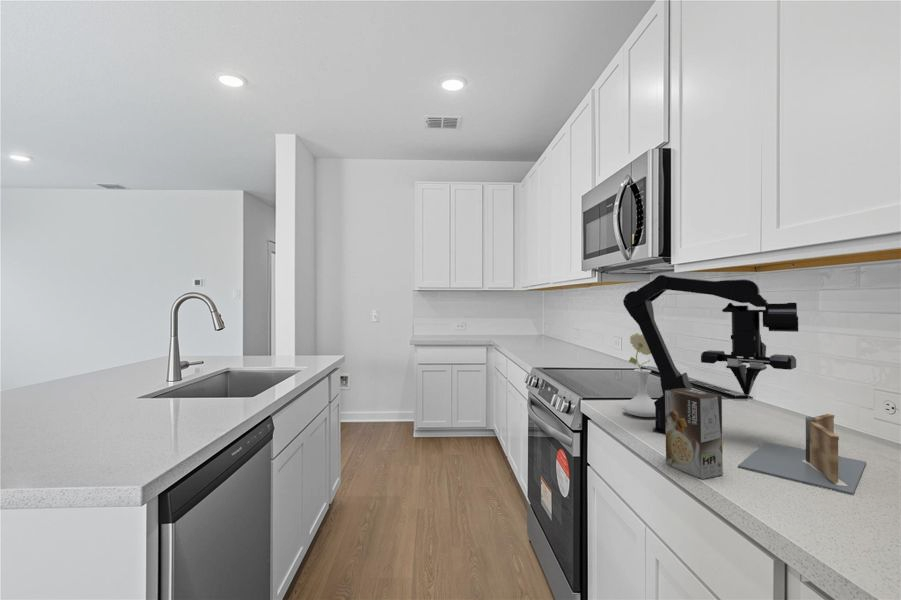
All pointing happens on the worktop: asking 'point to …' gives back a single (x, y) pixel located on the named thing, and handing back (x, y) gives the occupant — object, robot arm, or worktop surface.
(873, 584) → the worktop surface
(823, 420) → the fence fixed
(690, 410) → the coffee box
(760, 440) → the worktop surface
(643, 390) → the flower in vase
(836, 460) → the fence panel
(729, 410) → the worktop surface
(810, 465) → the mat
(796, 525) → the worktop surface
